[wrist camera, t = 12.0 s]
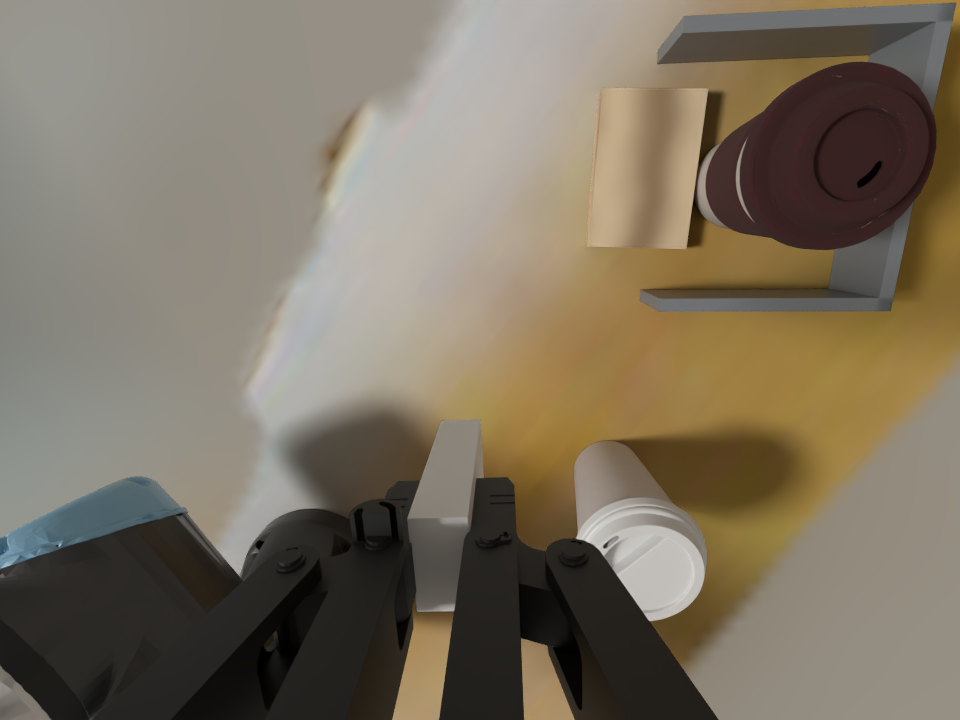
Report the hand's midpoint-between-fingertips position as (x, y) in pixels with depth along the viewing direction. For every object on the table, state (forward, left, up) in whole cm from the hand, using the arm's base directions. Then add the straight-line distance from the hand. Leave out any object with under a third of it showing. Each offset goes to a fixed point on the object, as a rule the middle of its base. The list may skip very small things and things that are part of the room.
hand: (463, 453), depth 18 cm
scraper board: (+12, +13, -28) cm, 33 cm away
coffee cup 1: (+11, -15, -27) cm, 33 cm away
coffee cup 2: (+20, +12, -27) cm, 36 cm away
